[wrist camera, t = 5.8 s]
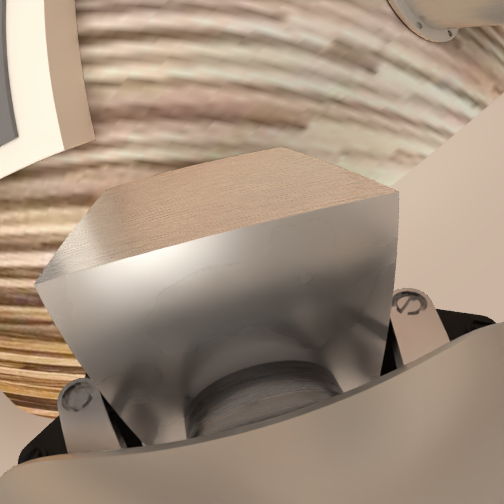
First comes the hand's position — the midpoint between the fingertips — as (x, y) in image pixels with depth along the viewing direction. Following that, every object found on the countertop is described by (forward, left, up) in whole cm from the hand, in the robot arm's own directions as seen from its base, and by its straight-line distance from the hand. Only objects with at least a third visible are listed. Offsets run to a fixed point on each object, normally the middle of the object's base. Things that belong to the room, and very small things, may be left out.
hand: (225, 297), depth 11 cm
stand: (+15, -14, -17) cm, 27 cm away
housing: (0, 0, -1) cm, 1 cm away
